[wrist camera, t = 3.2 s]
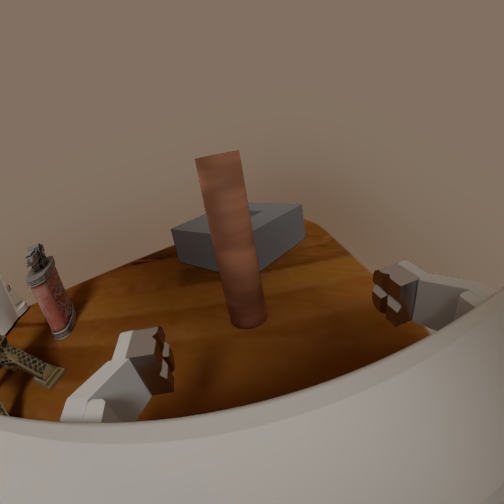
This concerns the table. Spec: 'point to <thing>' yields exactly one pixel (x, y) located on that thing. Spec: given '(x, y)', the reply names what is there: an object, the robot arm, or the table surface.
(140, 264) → the table surface
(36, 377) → the eiffel tower
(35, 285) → the lighter
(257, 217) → the holder
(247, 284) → the peg
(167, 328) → the table surface
